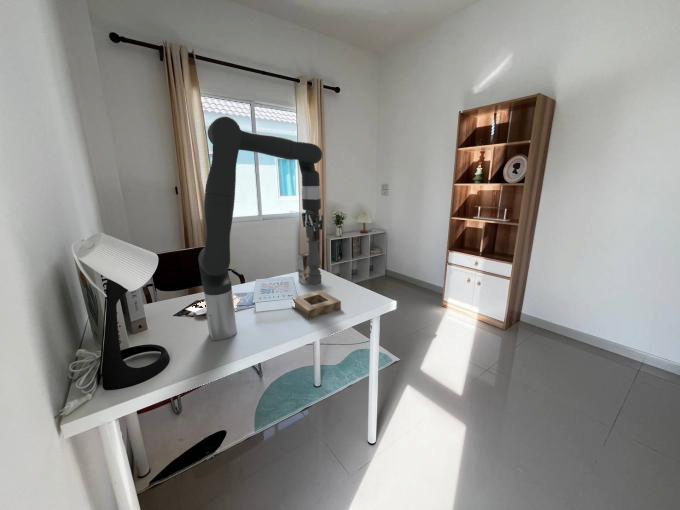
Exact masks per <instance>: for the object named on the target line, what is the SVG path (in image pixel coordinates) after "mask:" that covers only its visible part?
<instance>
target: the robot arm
mask: <svg viewBox="0 0 680 510" xmlns="http://www.w3.org/2000/svg"><path fill="white" fill-rule="evenodd" d="M207 136H208V137H207V138H208V139H209V142H210V143H211V144H212V156H211V157H212V161H211V166H210V168H209V171H208V172H209V173H208V175H207V178H206V183H205V189H204V203H203V209H204V220H205V227H206V239H205V244H204V247H203V248H202V249H201V251H200V252H199V255H198V258H197V259H198V267H199V272H200V280H201V285H202V288H203V294H204V295H203V296H204V301H205V302H206V309H207V310H206V313H205V314H206V321H207V329H208V335H209V337H210V339H211V340H212V341H216V340H217V341H221V340H226V339H230V338H231V337H234V336H235V335H236V334H237V332H238V330H237V329H238V328H237V327H238V326H237V322H236V313H235V309H234V303H233V295H234V294H233V287H232V281H231V278H230V274H229V267H230V264H231V231H232V225H233V216H234V209H235V197H236V183H237V182H236V180H237V179H236V178H237V164H238V163H237V161H238V156H239V151H245V152H252V153H257V154H263V155H267V156H271V157H274V158H275V157H276V158H280V159H282V160H283V159H285V160H288V161H293V160H294V161H298V165H299V170H300V173H301V201H302V202H301V207H302V210H303V211H305V212H302V213H301V219H302V226H303V228H304V229H305V230H306V225H311V226H313V230H314V240H319V241H320V231H323V226H324V225H323V223H324V216H323V214H319V210H321V209H322V202H321V201H322V198H321V197H322V196H321V195H322V194H321V185H320V183H321V182H320V172H319V171H317V170H316V167H315V164H318V163H319V162H320V161H321V160H322V157H323V151H322V149H321V148H320V147H319V145H317V144H314V143H309V142H301V141H295V140H293V139H289V138H285V137H281V136H277V135H270V134H260V133H254V132H249V131H246V130H243V129H241V127H240V125H239V124H238V122H237V121H236V120H235V119H234V118H232V117H230V116H220V117H217V118H216V119H214V120H213V121H212V122H211V123H210V125H209V127H208V129H207ZM315 226H316V228H315ZM305 234H306V233H305ZM306 238H307V239H308V236H307V234H306Z"/></svg>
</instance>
